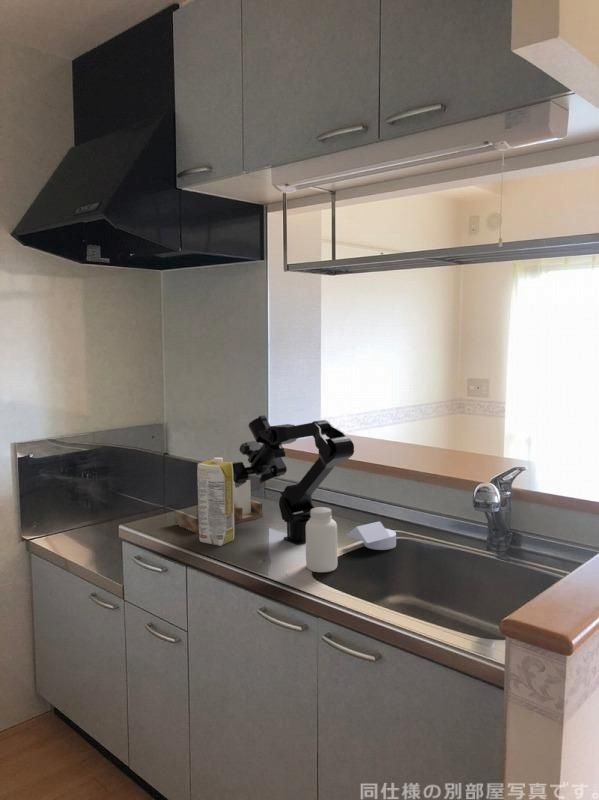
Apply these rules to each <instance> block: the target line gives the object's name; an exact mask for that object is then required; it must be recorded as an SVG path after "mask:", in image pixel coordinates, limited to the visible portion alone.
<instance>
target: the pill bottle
mask: <svg viewBox="0 0 599 800" xmlns="http://www.w3.org/2000/svg"><path fill="white" fill-rule="evenodd" d="M310 516H311V518H310V519H309V521H307V523H306V542H305V565H306V568H307V569H308V571H311V572H314V573H315V572H316V573H330V572H333V571H335V570H336V569H337V568H338V524H337V522H336V521H335V520H334V519H333V516H332V509H331V508H330V507H324V506H320V507H318V506H317V507H314V508H313V509H311V510H310Z"/></svg>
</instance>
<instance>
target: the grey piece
mask: <svg viewBox="0 0 599 800" xmlns="http://www.w3.org/2000/svg"><path fill="white" fill-rule="evenodd" d="M233 481H234V480H233ZM251 489H252V488H251V475H248V479H247V480H246V483H244V484H242V485H241V486H239V487H237V488H236V487H235V482H234V505H235V506H238V507H241V508H242V515H244V514H249V513H251V500H252V499H251V498H252V497H251V493H252V492H251Z"/></svg>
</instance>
